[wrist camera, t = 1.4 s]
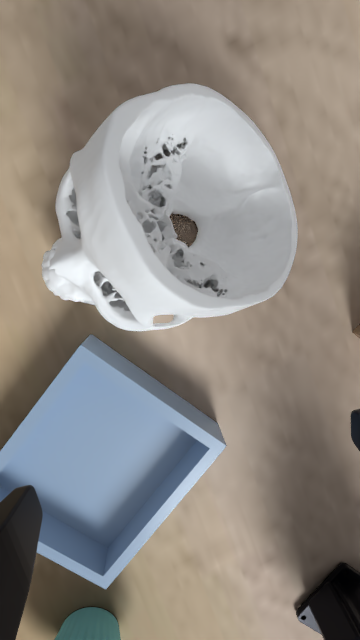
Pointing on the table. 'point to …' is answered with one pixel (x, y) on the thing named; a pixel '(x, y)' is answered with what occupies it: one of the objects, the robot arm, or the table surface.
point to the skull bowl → (178, 198)
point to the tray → (106, 460)
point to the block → (357, 331)
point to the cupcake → (89, 625)
